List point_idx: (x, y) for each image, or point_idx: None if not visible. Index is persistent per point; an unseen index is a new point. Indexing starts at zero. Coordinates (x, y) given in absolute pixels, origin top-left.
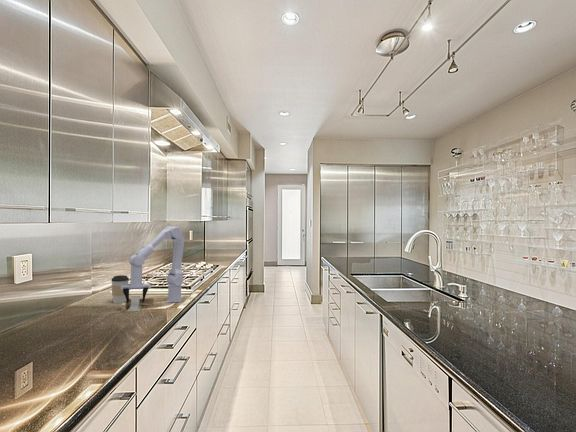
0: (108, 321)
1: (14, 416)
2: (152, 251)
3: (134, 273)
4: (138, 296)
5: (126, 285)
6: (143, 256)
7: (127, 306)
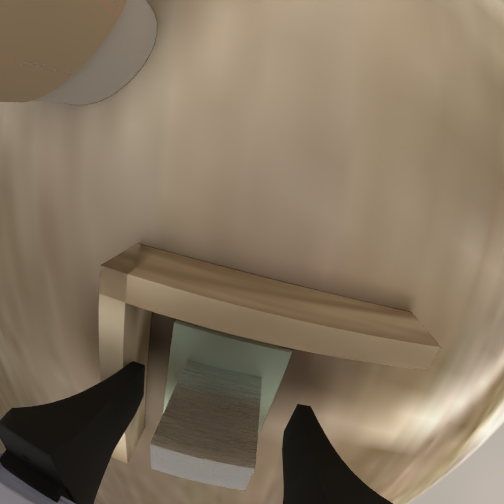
0: (109, 487)
1: None
2: None
3: None
4: (235, 483)
5: (3, 502)
6: None
7: (150, 311)
